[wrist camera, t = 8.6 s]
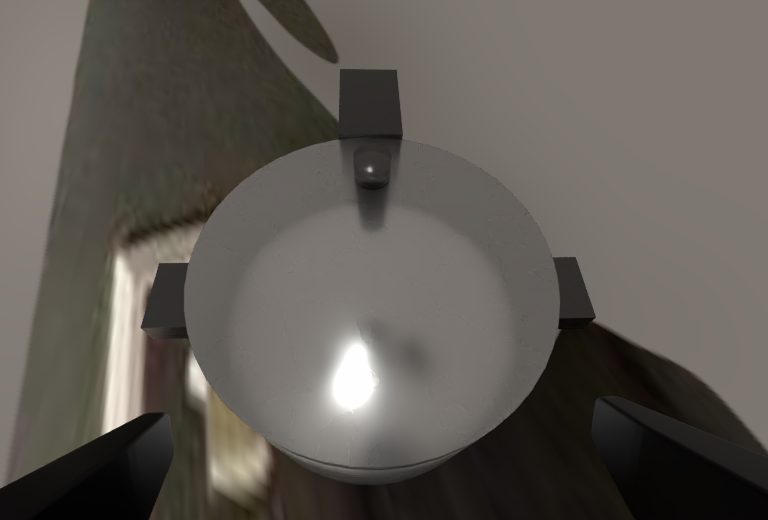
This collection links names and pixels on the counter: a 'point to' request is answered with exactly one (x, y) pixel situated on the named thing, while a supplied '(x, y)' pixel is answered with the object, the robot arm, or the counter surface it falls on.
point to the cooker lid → (371, 294)
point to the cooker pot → (170, 323)
